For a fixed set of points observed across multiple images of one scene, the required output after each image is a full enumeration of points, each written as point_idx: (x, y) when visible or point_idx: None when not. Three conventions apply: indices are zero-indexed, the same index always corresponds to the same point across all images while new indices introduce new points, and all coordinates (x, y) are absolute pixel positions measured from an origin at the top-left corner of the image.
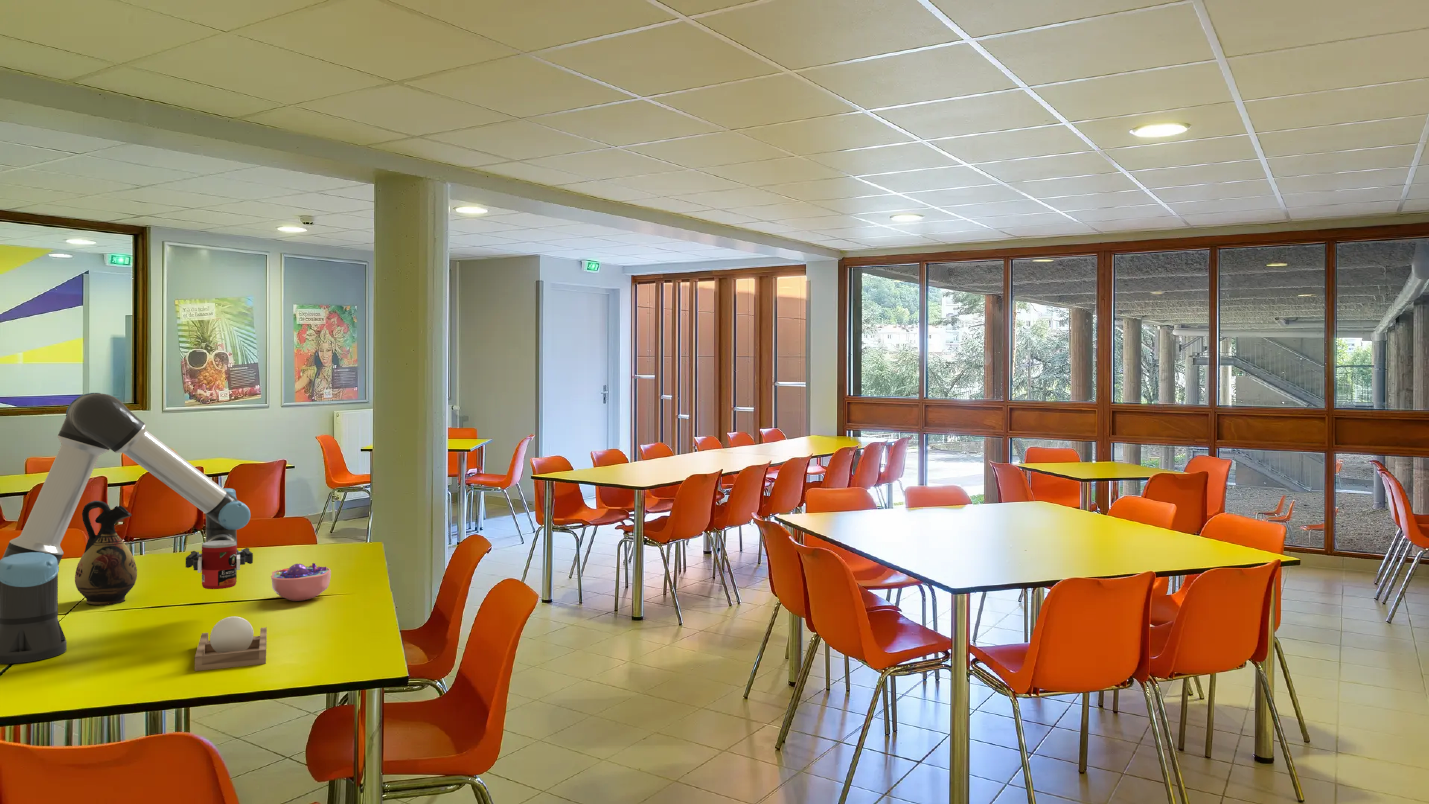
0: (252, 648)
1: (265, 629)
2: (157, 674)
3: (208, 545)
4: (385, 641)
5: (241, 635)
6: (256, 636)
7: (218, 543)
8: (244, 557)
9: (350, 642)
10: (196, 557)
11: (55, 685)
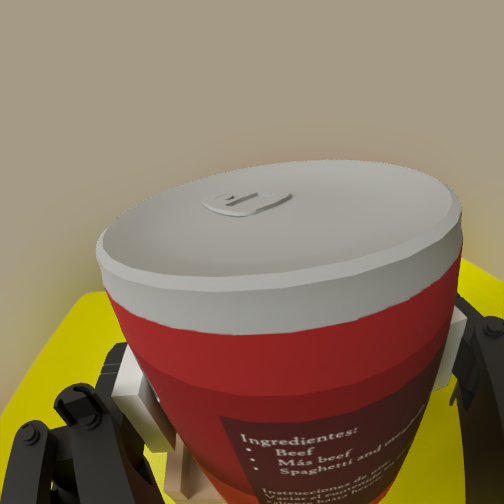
0: None
1: (168, 469)
2: None
3: (329, 160)
4: (15, 399)
5: None
6: (198, 496)
7: (295, 224)
8: (97, 393)
9: (47, 416)
10: (488, 322)
11: (466, 289)
